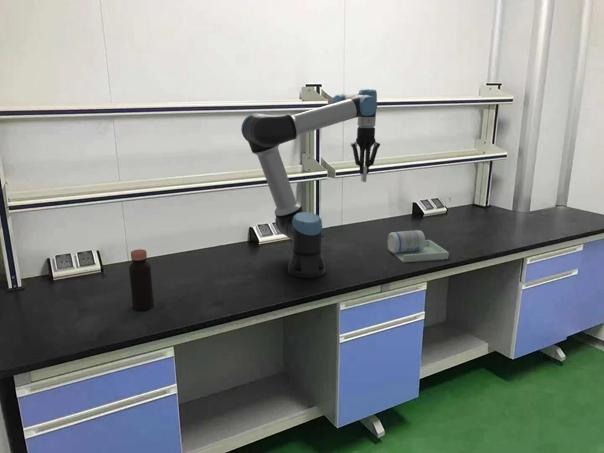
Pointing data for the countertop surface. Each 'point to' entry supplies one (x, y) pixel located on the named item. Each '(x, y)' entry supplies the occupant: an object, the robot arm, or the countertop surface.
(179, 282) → the countertop surface
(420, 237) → the supplement tub
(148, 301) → the bottle
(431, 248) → the tray
